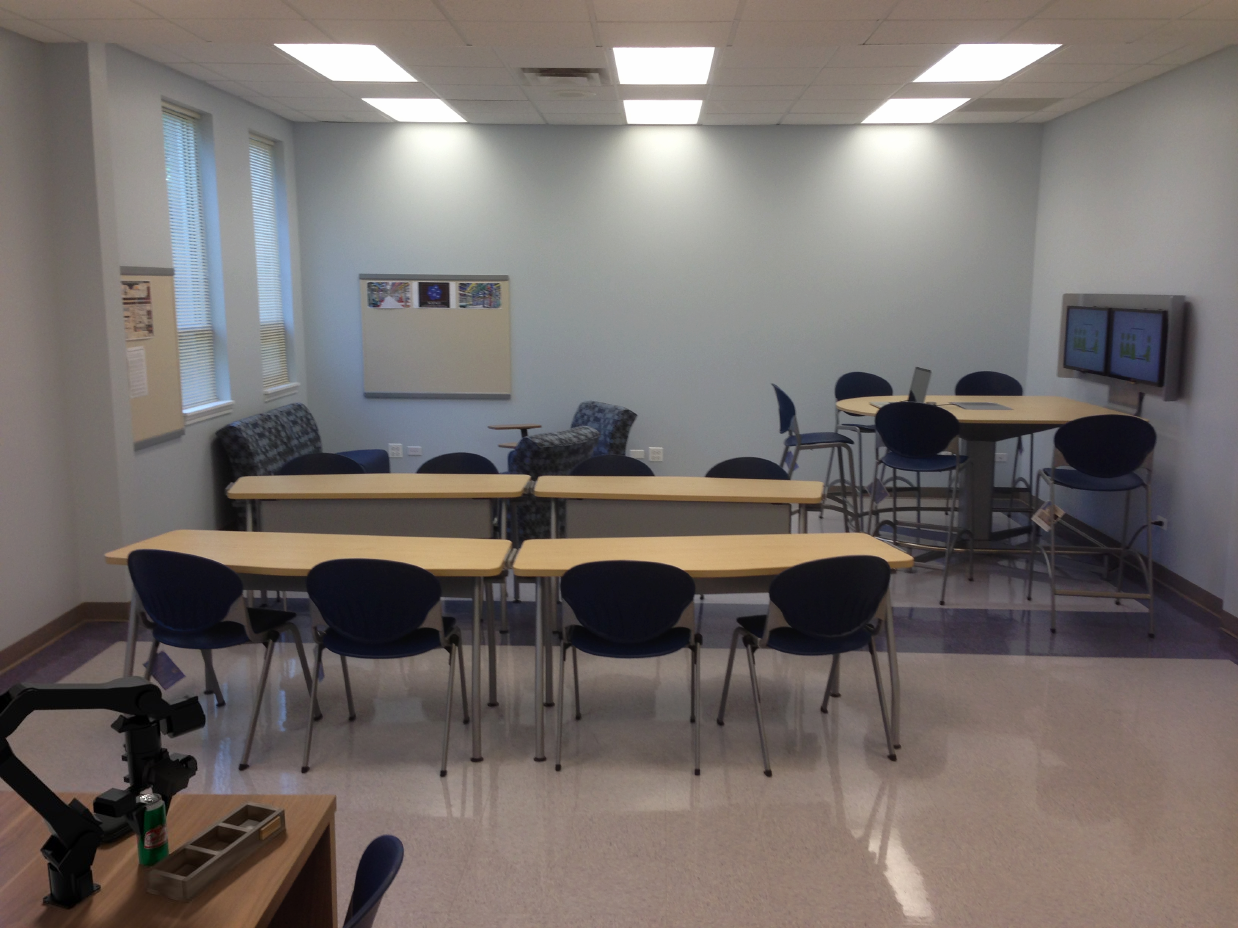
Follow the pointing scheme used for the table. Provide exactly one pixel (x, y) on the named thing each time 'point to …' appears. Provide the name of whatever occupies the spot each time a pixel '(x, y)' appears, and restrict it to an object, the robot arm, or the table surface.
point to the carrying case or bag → (113, 827)
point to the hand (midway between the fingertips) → (151, 826)
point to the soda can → (153, 831)
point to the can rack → (214, 851)
